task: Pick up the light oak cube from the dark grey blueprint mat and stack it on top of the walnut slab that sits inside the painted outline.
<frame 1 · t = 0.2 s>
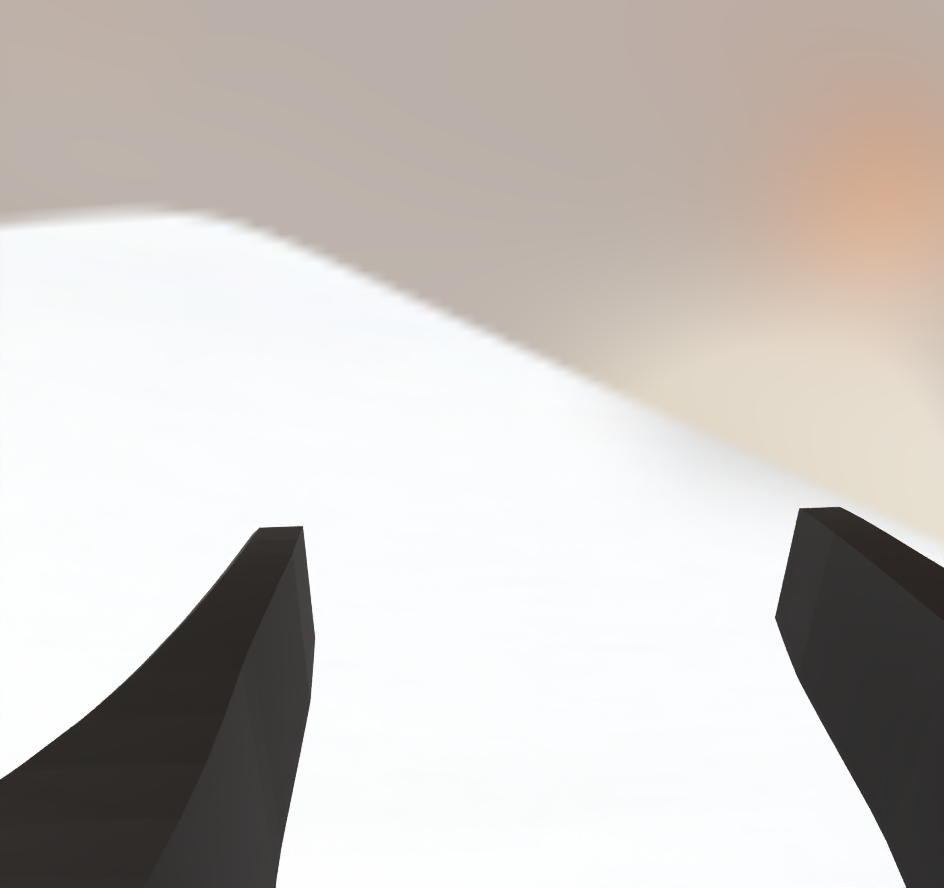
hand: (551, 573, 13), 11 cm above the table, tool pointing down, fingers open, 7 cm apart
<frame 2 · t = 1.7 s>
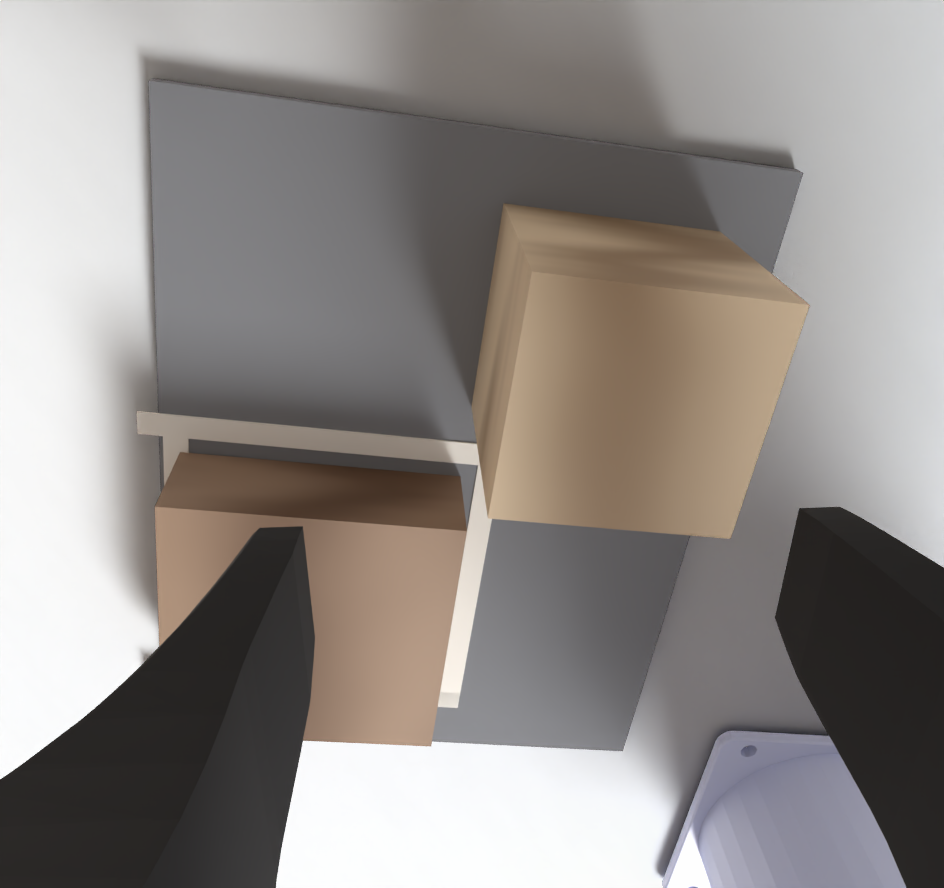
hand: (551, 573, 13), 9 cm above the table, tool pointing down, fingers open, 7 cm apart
oak cube: (590, 322, 20), resting on blueprint mat
walnut slab: (315, 576, 23), resting on blueprint mat
blueprint mat: (438, 483, 23), on the table
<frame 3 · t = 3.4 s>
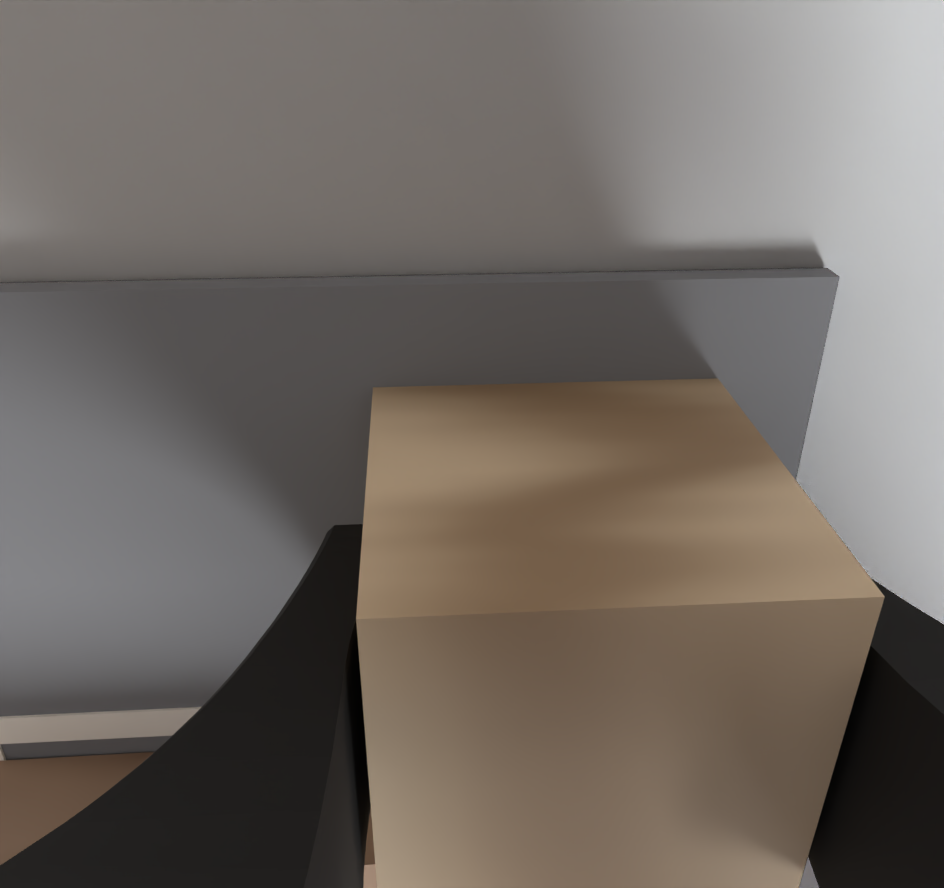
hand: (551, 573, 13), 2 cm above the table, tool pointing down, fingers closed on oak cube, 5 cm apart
oak cube: (540, 527, 14), resting on blueprint mat, touching gripper
walnut slab: (222, 874, 17), resting on blueprint mat
blueprint mat: (367, 742, 16), on the table
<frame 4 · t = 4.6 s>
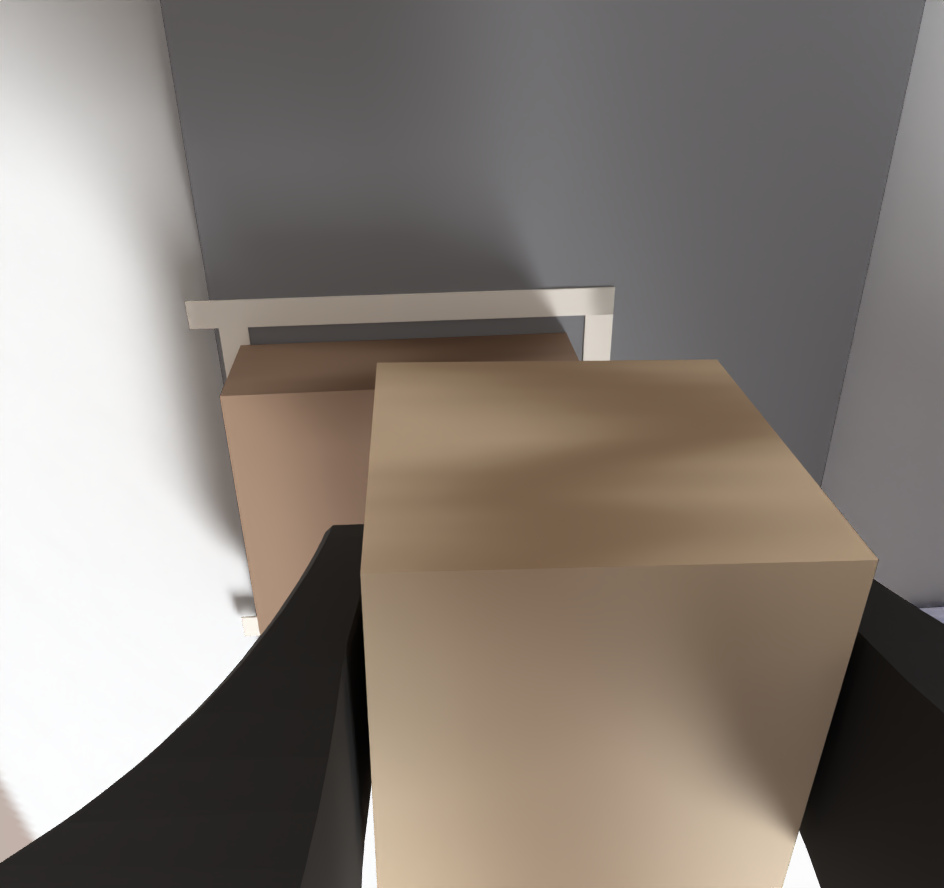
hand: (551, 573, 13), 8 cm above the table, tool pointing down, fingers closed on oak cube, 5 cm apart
oak cube: (539, 506, 14), point 6 cm above the table, touching gripper
walnut slab: (412, 477, 20), resting on blueprint mat
blueprint mat: (540, 347, 19), on the table
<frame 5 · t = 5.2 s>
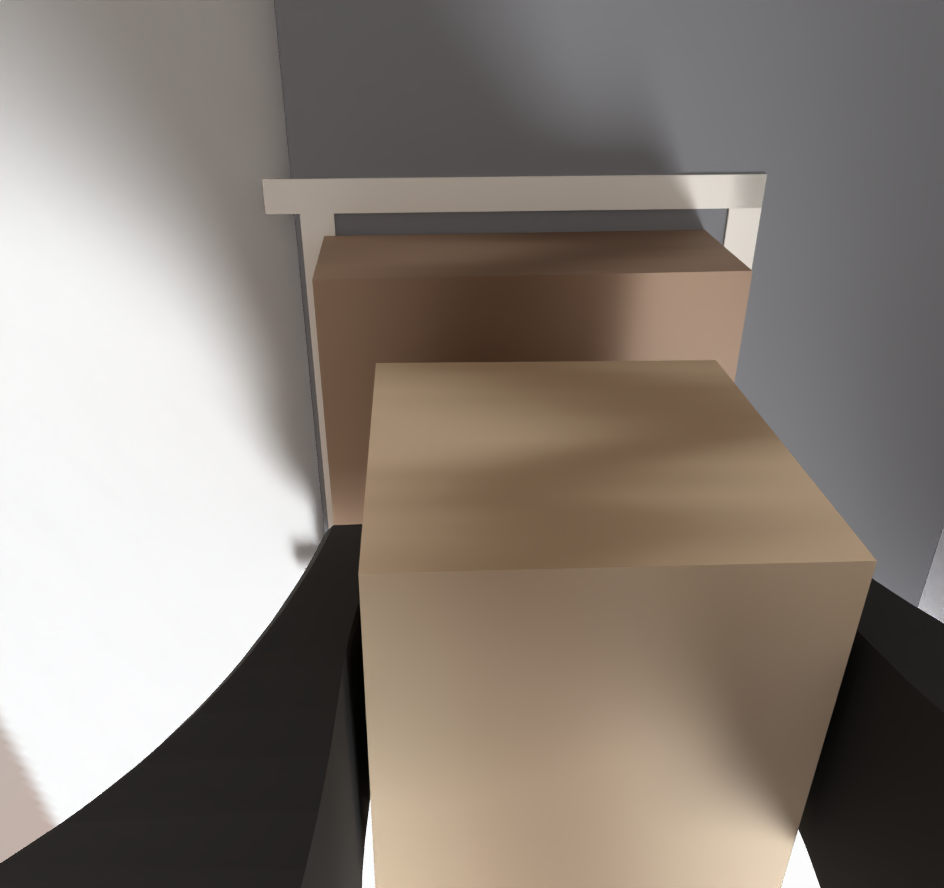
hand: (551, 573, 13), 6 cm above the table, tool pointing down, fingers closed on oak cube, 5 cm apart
oak cube: (538, 506, 14), point 5 cm above the table, touching gripper
walnut slab: (512, 404, 18), resting on blueprint mat
blueprint mat: (669, 250, 17), on the table
when the fingers open (5 cm above the table, at t = 5.9 s): oak cube stays where it is, resting on walnut slab.
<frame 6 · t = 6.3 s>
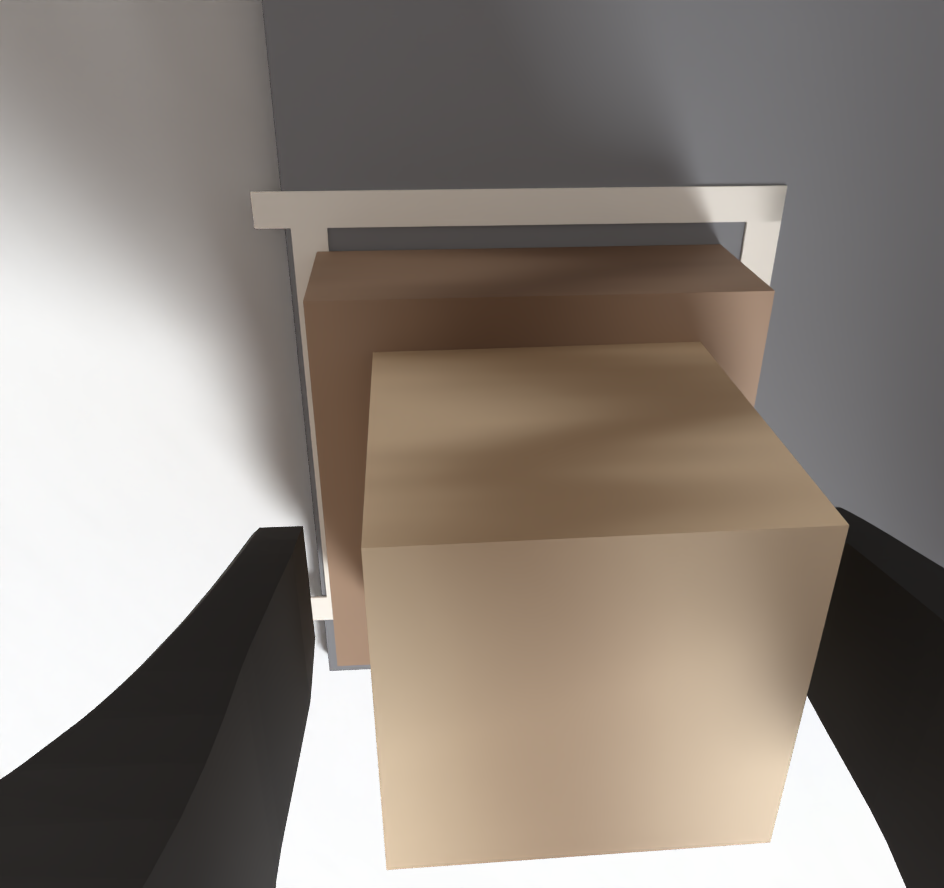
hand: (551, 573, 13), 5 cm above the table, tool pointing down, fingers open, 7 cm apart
oak cube: (533, 487, 14), point 3 cm above the table, touching walnut slab
walnut slab: (516, 427, 17), resting on blueprint mat, touching oak cube
blueprint mat: (682, 265, 16), on the table
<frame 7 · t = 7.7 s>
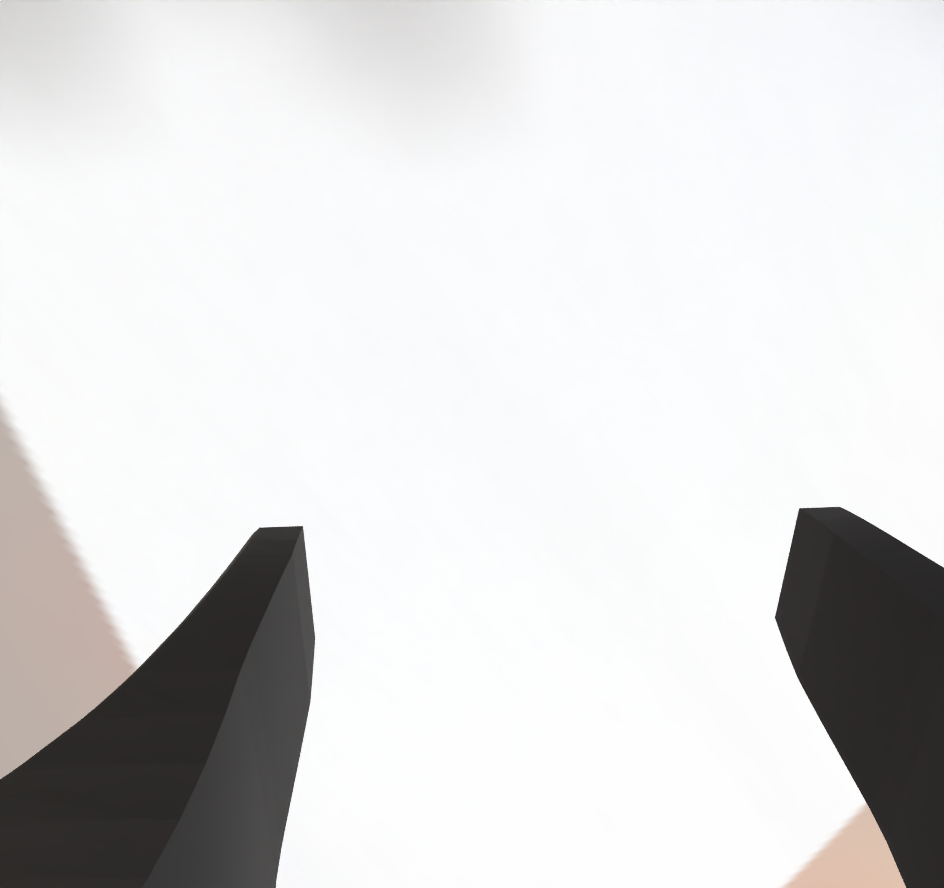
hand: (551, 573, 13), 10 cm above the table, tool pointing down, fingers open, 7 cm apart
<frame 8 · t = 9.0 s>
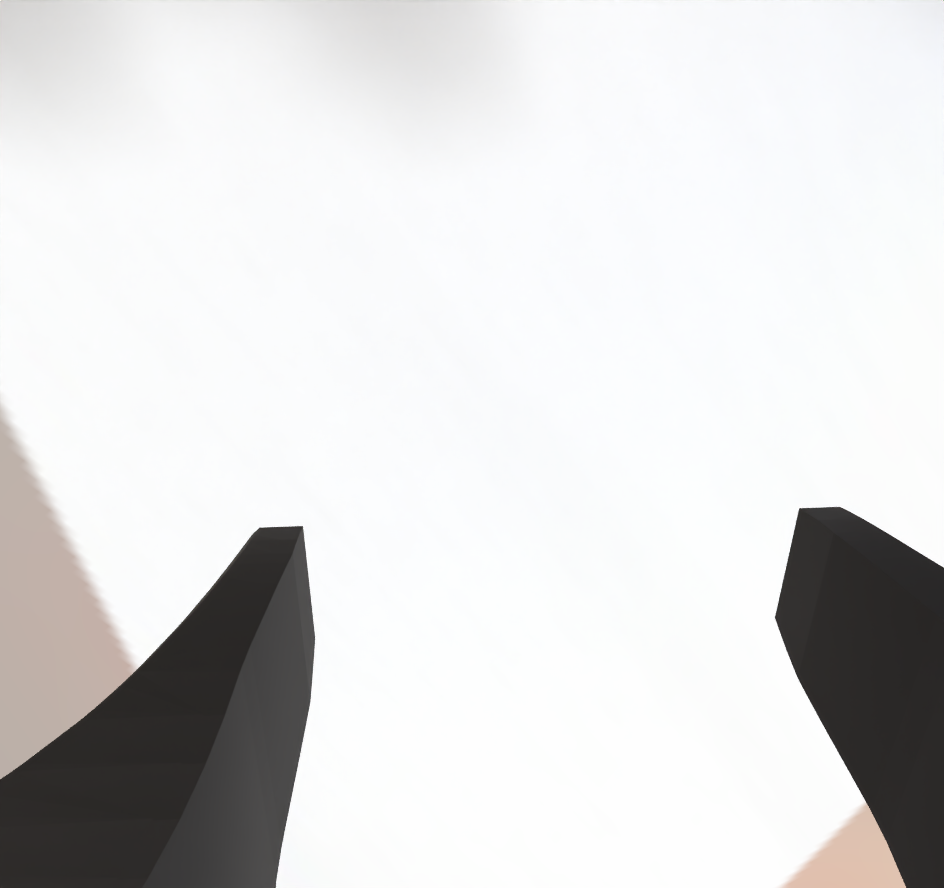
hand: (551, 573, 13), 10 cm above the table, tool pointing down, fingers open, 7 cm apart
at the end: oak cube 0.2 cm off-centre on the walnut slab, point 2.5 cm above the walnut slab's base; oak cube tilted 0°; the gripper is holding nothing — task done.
